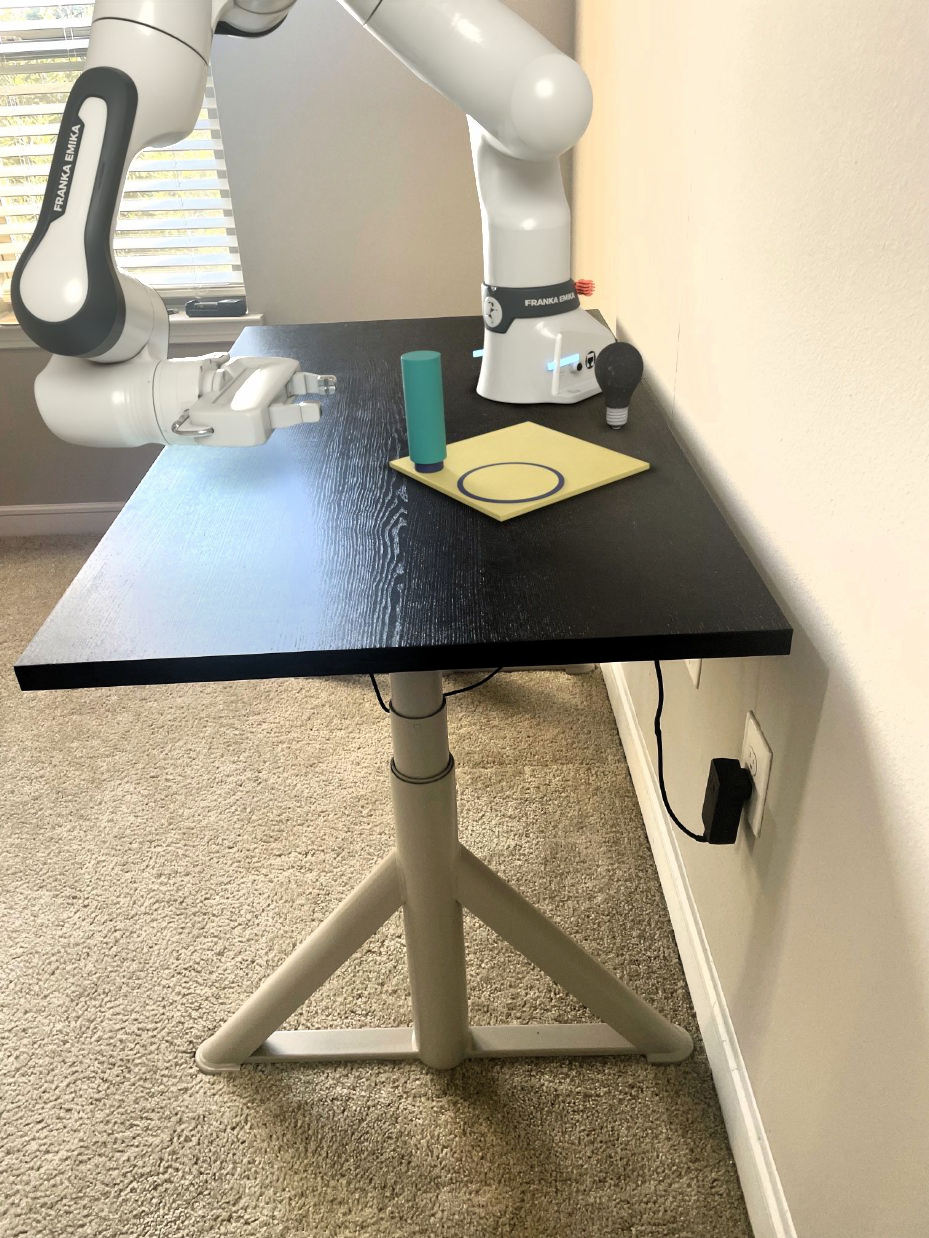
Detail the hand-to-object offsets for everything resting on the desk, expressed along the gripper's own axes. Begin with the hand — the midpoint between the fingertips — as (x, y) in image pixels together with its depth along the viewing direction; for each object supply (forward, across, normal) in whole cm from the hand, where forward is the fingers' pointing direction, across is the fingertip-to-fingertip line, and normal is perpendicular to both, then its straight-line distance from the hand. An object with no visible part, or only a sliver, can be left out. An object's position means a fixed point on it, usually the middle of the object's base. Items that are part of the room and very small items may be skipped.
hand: (328, 397), depth 89 cm
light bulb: (+32, +13, +9) cm, 35 cm away
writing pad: (+19, +1, +9) cm, 21 cm away
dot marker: (+10, 0, +8) cm, 13 cm away
